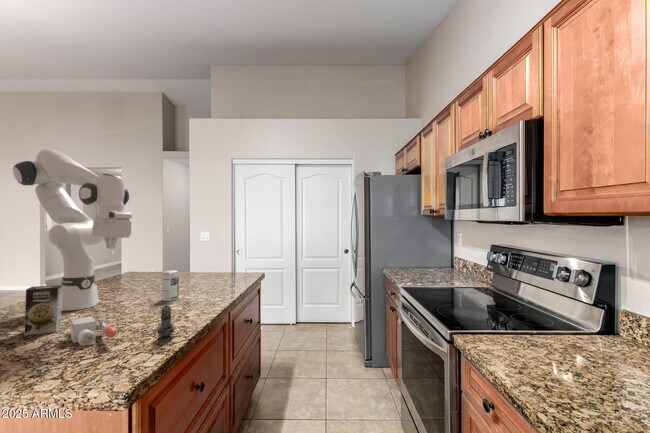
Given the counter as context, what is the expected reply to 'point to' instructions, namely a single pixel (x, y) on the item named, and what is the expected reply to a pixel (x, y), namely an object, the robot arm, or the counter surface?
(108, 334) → the lever
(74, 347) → the counter surface
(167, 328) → the grey chess pawn
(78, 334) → the valve
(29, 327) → the cookie box
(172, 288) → the syrup box
